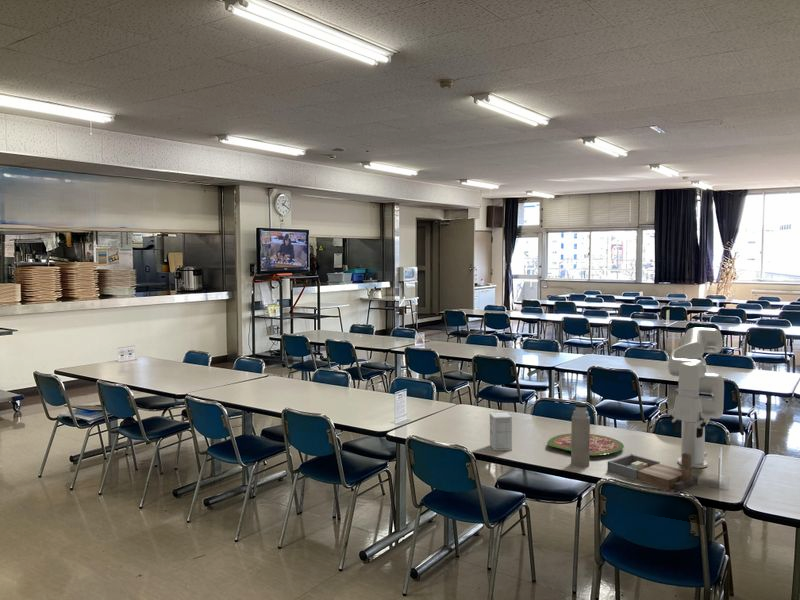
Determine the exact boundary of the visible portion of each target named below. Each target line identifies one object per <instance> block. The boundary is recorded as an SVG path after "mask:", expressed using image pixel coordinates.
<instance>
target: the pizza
mask: <svg viewBox="0 0 800 600" xmlns="http://www.w3.org/2000/svg"><path fill="white" fill-rule="evenodd" d="M546 444H547V446H549V447H552V448H556V449H560V450H564V451H566V452H568V451H569V453H571V433H563V434H557V435H555V436H553V437H550V438H549V439H548V441H547V443H546ZM624 448H625V445H624V444H623V442H621V441H620V440H618V439H615V438H613V437H610V436H606V435H600V434H594V433H590V449H589V457H590V456H591V457H592V456H593V457H594V456H595V457H596V456H604V455H609V454H610V455H611V454H614V453H617V452H620V451H621V450H623V449H624Z"/></svg>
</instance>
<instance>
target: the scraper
mask: <svg viewBox="0 0 800 600" xmlns="http://www.w3.org/2000/svg"><path fill="white" fill-rule="evenodd" d="M681 470H682V481H680V482H677V483H674V488H673V489H674V490H675V491H674V492H677V491H680V492H682V491H685V490H687V489H690V488H693V487H695V486H697V485H698V484H699V483H698V480H699V479H698V477H696V476H692V467H691V454H688V453H684V454H682V465H681Z"/></svg>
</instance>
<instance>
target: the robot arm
mask: <svg viewBox="0 0 800 600" xmlns="http://www.w3.org/2000/svg"><path fill="white" fill-rule="evenodd" d="M723 345H724V342H723V336H722V333H721V331H720V330H719V329H717V328H712V327H692V328H689V329H687V330H686V332H685V334H683V335H681V337H680V346H679V347H677V348H675V349H674V350H672V352H670V353H671V354H670V355H669V360H668V365H667V369H668V373H669V374H670V375H671V376H672V377H678V388H675V392H677V395H676V396H675V400H674V404H673V408H671V409H668V410H667V415H668V417H669V419H670V420H671V423H672V430H673V433H677V432H679V431H680V421H681V443H680V445H681V446H680V447H681V448H680V450H681V451H680V457H679V458H677V459H676V460H677V461H676V462H677V463H678V464H679V465H681V466H682V454H684V453H688V454H691V468H693V469H704V468H706V467H708V465H709V463H708V462H707V460H705V458H706V457H708V453H707V452H705V441H706V440H705V439H706V438H705V437H706V428H705V427H706V426H707V425H708V423H709V422H710V420H711V419H720V418H722V417H723V415H724V414H723V413H724V406H725V405H724V400H725V398H724V397H725V380H724V378H723V376H722V375H721V374H718V373H712V372H711V373H710V372H707V362H706V360H705V359H704V357H703V355H704V354H705V353H707V354H708V353H709V354H717V353H720V352H721V351H722V349H723ZM700 394H704V395H700ZM709 395H711V396H709Z"/></svg>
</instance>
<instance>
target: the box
mask: <svg viewBox="0 0 800 600" xmlns="http://www.w3.org/2000/svg"><path fill="white" fill-rule="evenodd" d="M636 461H640V462H643V463H647V464H648V467H650V466H653V465H656V464H658V463H659V464H661V461H658V460H656V459H655V460H654V459H651V458H647V457H643V456H639V455H636V454H632V453H630V454H627V455H624V456H620V457H618V458H615V459H612V460H609V461H607V468H606V469H607V472H606V473H610V474H614V475H617V476H620V477H623V478H626V479H630V480H632V481H638V480H637V475H638V470H637V469H634V468H631V463H633V462H636Z"/></svg>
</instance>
